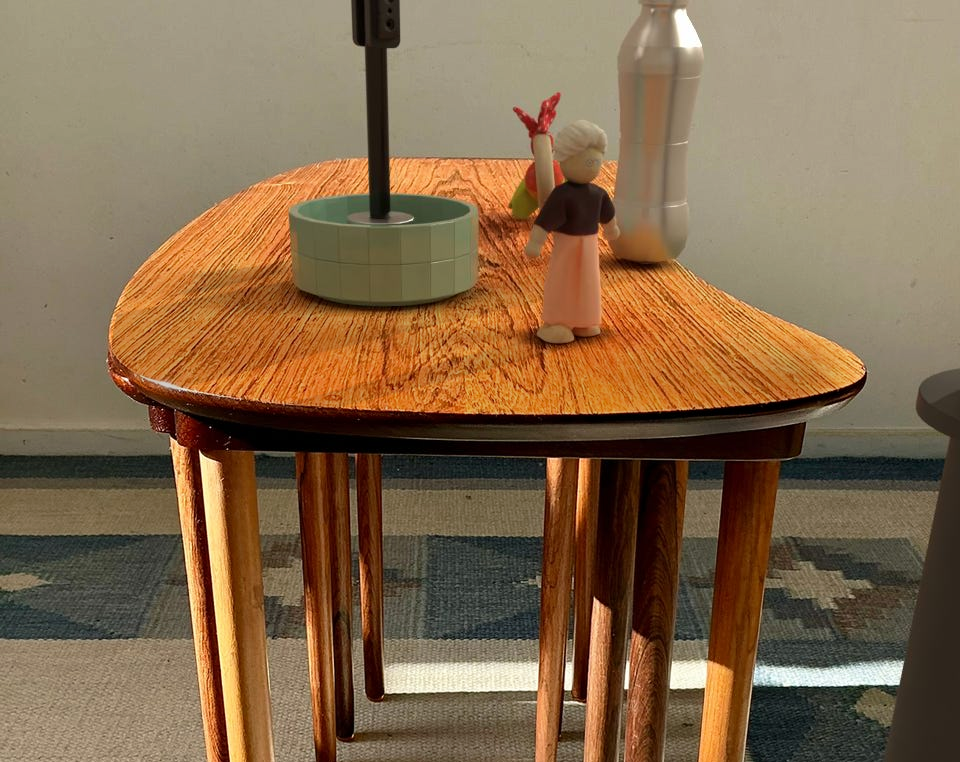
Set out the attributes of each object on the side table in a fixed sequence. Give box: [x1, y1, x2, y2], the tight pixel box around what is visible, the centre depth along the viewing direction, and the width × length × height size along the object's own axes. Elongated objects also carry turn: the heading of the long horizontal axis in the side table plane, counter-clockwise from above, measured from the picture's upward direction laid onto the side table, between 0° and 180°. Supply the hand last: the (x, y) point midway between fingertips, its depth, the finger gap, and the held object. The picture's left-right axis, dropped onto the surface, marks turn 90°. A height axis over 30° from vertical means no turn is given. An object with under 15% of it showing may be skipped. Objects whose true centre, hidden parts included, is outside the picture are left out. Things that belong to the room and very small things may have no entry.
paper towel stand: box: [347, 0, 414, 225], centre depth 84 cm, size 5×5×19 cm
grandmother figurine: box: [524, 119, 620, 344], centre depth 75 cm, size 8×4×13 cm, turn 143°
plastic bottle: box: [607, 0, 705, 265], centre depth 92 cm, size 6×7×20 cm
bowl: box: [288, 192, 480, 307], centre depth 87 cm, size 13×13×6 cm
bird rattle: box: [507, 91, 567, 221], centre depth 108 cm, size 6×11×9 cm
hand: (376, 45), depth 82 cm, fingers closed on paper towel stand, 1 cm apart
